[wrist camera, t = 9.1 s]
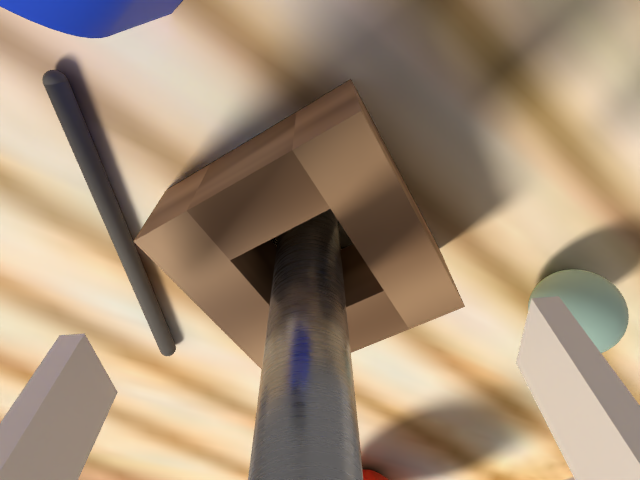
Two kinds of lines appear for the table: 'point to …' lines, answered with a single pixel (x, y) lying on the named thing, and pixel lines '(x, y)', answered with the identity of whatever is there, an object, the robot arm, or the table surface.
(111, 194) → the thin dark grey rod
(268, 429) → the grey metal cylinder rod
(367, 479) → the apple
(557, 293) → the loose teal bead
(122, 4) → the bracket
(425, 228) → the square wooden ring
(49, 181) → the table surface
